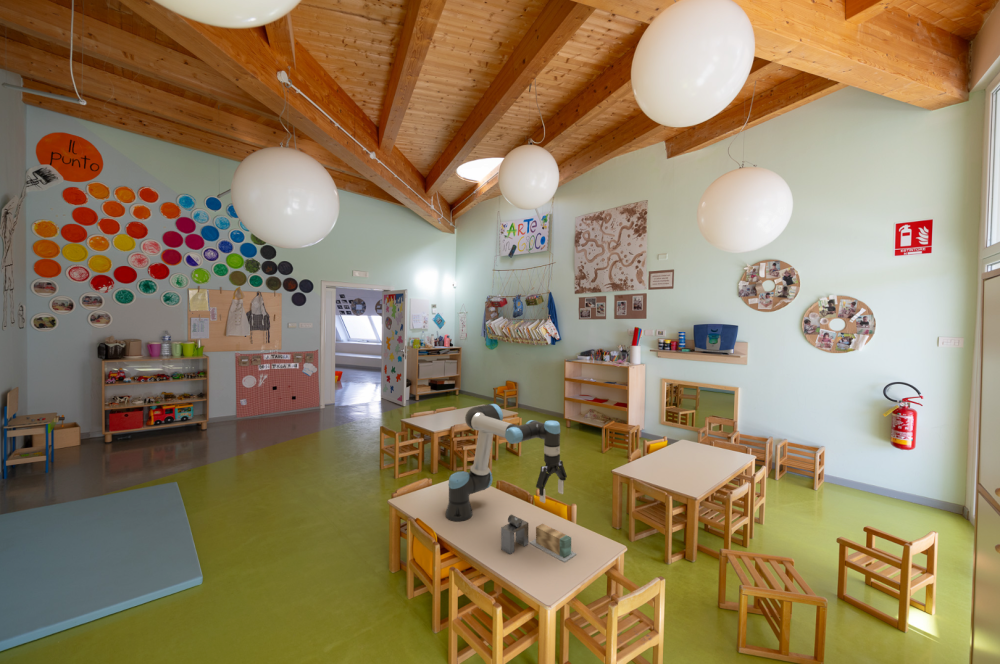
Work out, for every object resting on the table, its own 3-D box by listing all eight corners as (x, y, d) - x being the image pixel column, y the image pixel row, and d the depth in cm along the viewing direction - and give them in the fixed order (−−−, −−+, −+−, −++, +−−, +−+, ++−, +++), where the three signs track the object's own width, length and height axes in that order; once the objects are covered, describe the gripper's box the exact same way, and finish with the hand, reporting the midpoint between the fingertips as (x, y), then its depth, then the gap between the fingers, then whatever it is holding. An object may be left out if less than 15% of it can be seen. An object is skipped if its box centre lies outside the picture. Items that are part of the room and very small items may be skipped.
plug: (535, 542, 207) (535, 527, 207) (542, 538, 210) (542, 523, 210) (564, 558, 194) (564, 541, 194) (571, 553, 197) (571, 537, 197)
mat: (529, 543, 207) (529, 542, 207) (541, 536, 214) (541, 535, 214) (564, 562, 191) (564, 561, 191) (576, 554, 198) (576, 553, 198)
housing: (501, 549, 202) (501, 519, 202) (519, 539, 211) (519, 510, 210) (509, 554, 198) (509, 523, 197) (528, 544, 207) (528, 514, 206)
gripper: (540, 462, 187) (540, 508, 188) (574, 449, 204) (573, 492, 205) (528, 457, 193) (528, 502, 193) (562, 446, 210) (561, 487, 211)
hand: (551, 497), depth 199 cm, fingers open, 13 cm apart
